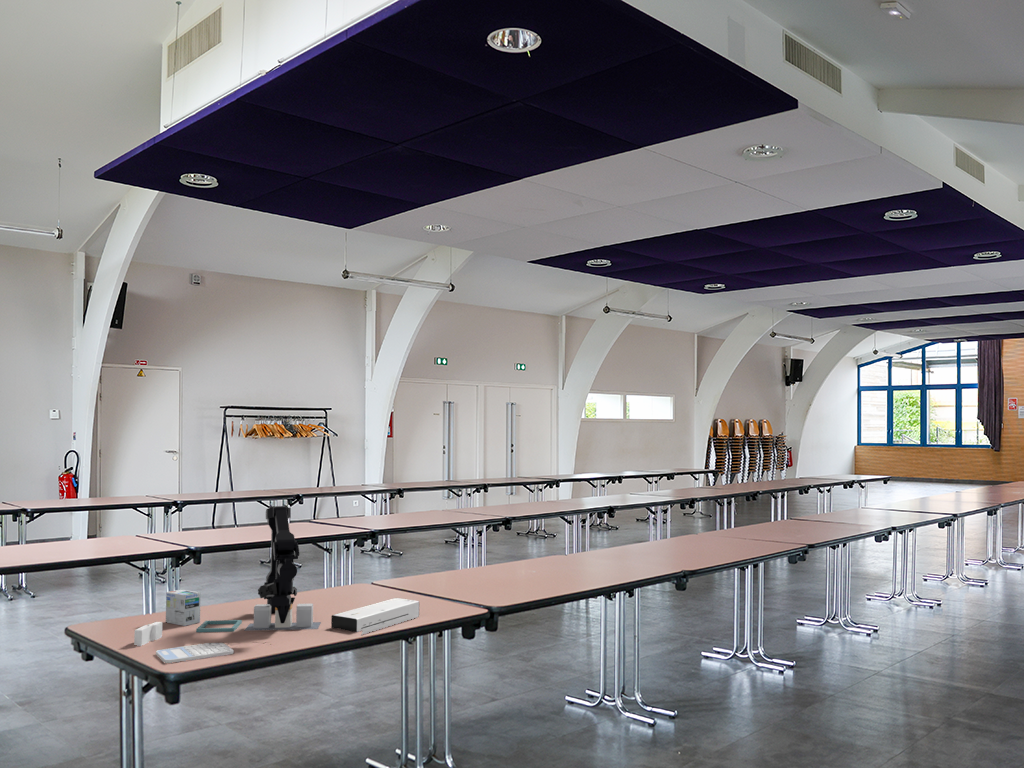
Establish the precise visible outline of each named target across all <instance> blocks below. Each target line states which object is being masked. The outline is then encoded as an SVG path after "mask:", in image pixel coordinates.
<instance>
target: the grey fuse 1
mask: <svg viewBox="0 0 1024 768" xmlns="http://www.w3.org/2000/svg"><path fill="white" fill-rule="evenodd" d="M253 623H254V628H269V627H270V626H271V623H272V614H271V605H270V604H267V603H265V604H263V603H262V604H255V605H254V606H253Z"/></svg>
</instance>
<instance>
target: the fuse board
mask: <svg viewBox="0 0 1024 768" xmlns="http://www.w3.org/2000/svg"><path fill="white" fill-rule="evenodd" d="M321 624H322V621H313V625H312V627H296V622H292V625H291V627H287V628H275V622H271V626H270V627H269V628H254V622H252V623H250V622H249V624H248V625H247V626H246V628H244V630H243V631H249V632H250V631H252V632H253V631H290V630H292V631H293V630H294V631H295V630H298V631H299V630H318V629H319V627H320V626H321Z"/></svg>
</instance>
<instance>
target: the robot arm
mask: <svg viewBox="0 0 1024 768" xmlns="http://www.w3.org/2000/svg"><path fill="white" fill-rule="evenodd" d="M291 510H292V509H291V507H288V506H286V505H277V506H274V505H273V506H269V507H268V508H266V509H265V520H267V524H268V527H269V528H270V531H271V538H270V539H271V540H270V544H271V545H270V570H269V571H268V574H267V575H266V576H265V582H264V583H263V585H260V586H259V587H258V589H257V592H258V593H257V594H258V595H259V597H260V599H264V600H266V601H267V602H266V604H270V605H271V615H272V614H274V615H275V607H276V608H277V609H278V613H279V617H280V622H281V623H284V622H285V620H286V617H287V614H288V612H289V609H290V606H291V604H292V606H293V605H294V602H295V600H296V596H297V595H298V589H297V587H296V586H294V580H295V578H296V576H297V574H298V568H297V565H296V564H295V563H294V560H298V559H299V556H300V549H299V543H298V541H297V540H296V538H295V534H293V533H292V532H291V531H290V524H289V519H291V514H292V513H291ZM291 595H293V596H294V597H292V596H291Z"/></svg>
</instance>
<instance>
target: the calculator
mask: <svg viewBox="0 0 1024 768" xmlns="http://www.w3.org/2000/svg"><path fill="white" fill-rule="evenodd" d="M233 654H234V649H233V647H230V646H229V645H228V644H226V643H225V642H204V643H198V644H192V645H185V646H177V647H176V646H175V647H170V648H163V649H158V650H156V651H155V656H156V655H157V656H158V657H159V658H160V659H161V660H160V659H159V658H158V657H157V656H156V657H157V658H158V659H159V660H160V661H161V662H163V663H164V662H165V663H171V664H173V663H172V662H177V663H181V662H180V661H184V662H187V661H186V660H191V661H196V659H197V660H202V659H203V660H204V659H208V658H216V657H221V656H222V657H223V656H229V655H233ZM165 663H164V664H165Z"/></svg>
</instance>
